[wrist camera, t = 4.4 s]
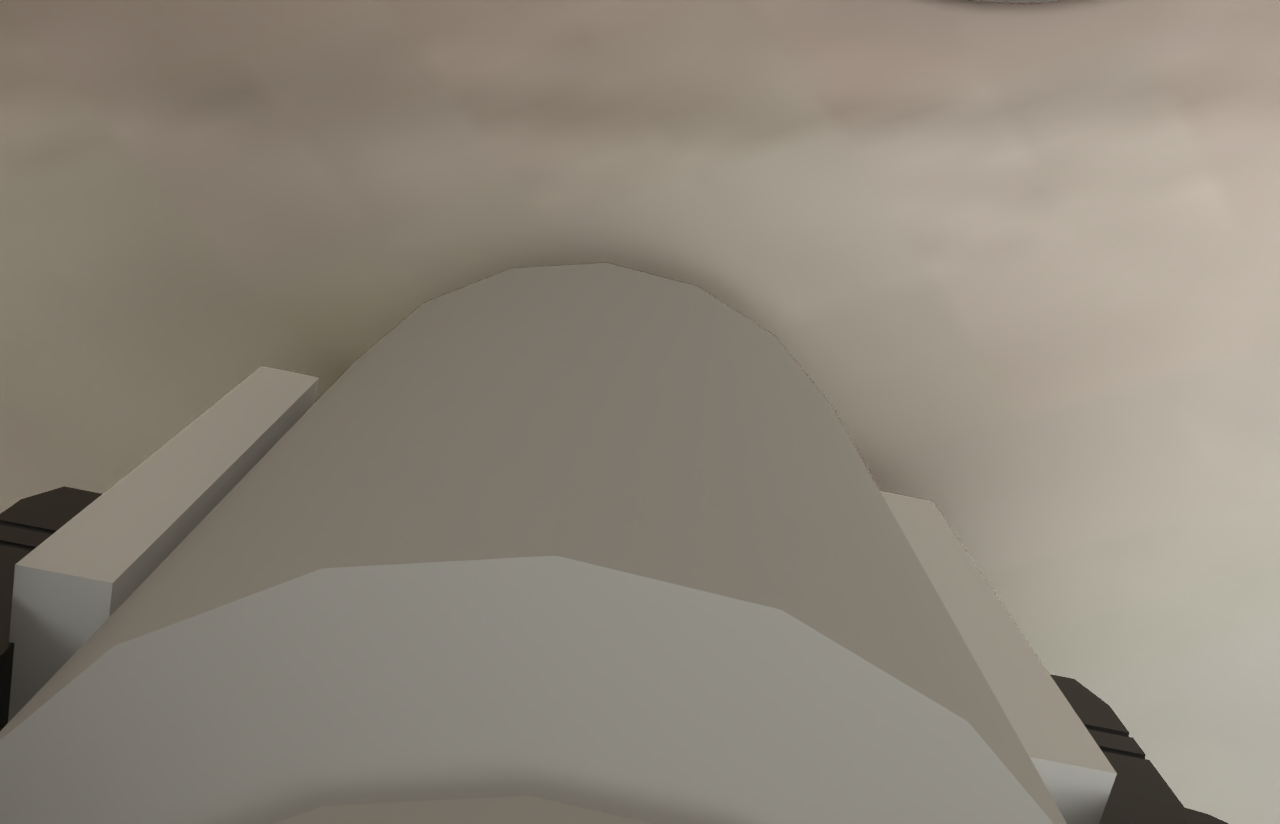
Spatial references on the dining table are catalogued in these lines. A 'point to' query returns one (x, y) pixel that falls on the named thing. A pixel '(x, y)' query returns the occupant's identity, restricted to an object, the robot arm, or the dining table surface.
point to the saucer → (1012, 1)
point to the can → (537, 601)
